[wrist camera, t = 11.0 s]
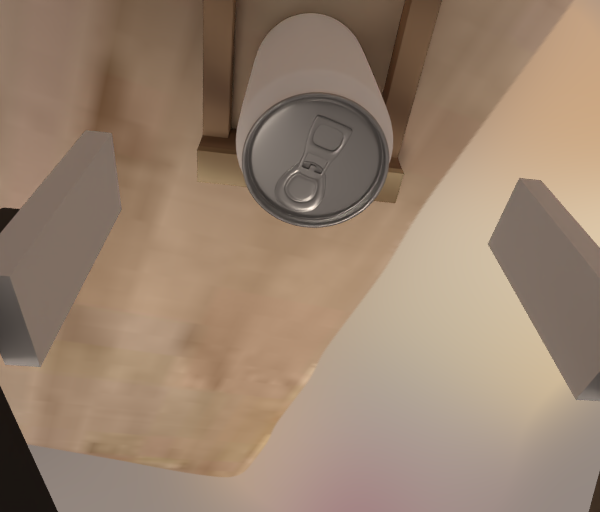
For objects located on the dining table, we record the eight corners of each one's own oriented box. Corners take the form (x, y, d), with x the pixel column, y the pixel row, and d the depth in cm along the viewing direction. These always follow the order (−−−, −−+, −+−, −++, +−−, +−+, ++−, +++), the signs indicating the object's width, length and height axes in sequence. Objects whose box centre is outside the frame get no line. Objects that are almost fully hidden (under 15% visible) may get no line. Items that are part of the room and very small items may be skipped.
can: (238, 100, 28) (208, 204, 19) (279, -12, 24) (266, 47, 15) (334, 141, 30) (351, 256, 20) (385, 42, 26) (435, 125, 17)
